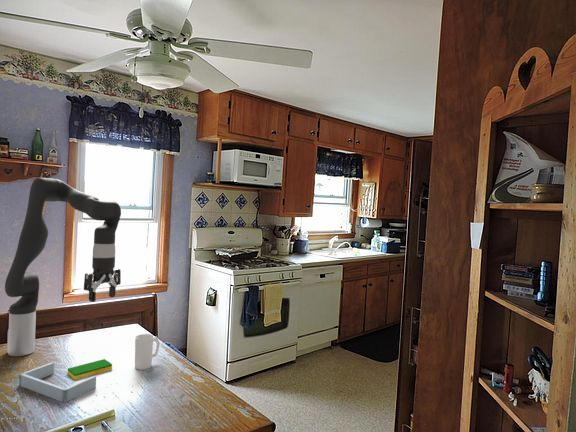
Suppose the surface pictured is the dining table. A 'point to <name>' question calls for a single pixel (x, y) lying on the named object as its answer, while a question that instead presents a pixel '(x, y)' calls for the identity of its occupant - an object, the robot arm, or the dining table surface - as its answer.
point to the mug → (145, 350)
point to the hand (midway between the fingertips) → (102, 299)
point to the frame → (56, 392)
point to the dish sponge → (89, 369)
